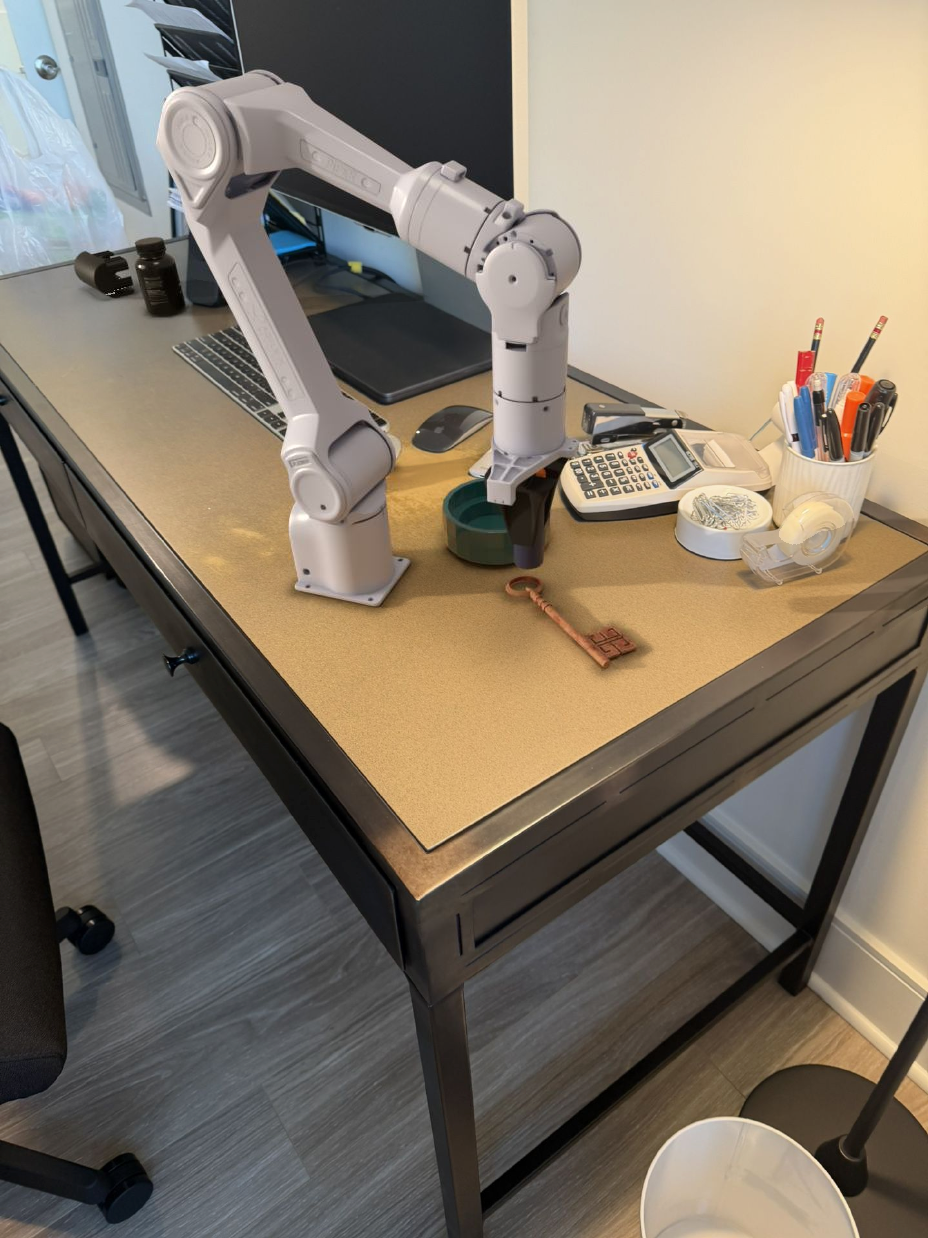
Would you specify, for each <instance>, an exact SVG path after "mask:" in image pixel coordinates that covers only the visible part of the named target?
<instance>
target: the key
mask: <svg viewBox="0 0 928 1238" xmlns="http://www.w3.org/2000/svg"><path fill="white" fill-rule="evenodd" d="M520 582H530V583H534V584H535V585H537V586H538V587H536V588H534V589H533V588H531V587H528V586H527V587H525V590H526V591H518V590H515V589H513V588H511V586H512V585H514V584H517V583H520ZM543 588H544V584H543V582H542V581H541V579H540V578H538V577H535V576H531V575H521V576H520V575H519V576H516V577H513V578H512V579H510V580H509V581H507V583H506V584H505V591H506V592H507V594H509V595H511V596H513V597H516V598H528V597H530V598H531V599H532V600H533V603H535V604H537V605H538V607H539V608H540V609H542V611H543V613H546V615H548V616H549V617H550V618H551V619H552V620H553V621H554V622H555V623H556V624H558V625H559V626H560V628H562V629H563V630H564V631H565V632H566V633H567V634H568V635H569V636H570V637H571V638H572V639H573V640H574V641H575V642H576V643H578V644H579V645H580V646H581V648H583V649H584V650H585V651H586V652H587V653H588V654H589V655H590V656H591V657H592V658H593V659H594V660H595V661H596V662H597V663H598V664H599V665H601V667H603V668H604V669H606V668H608V667H610V666H611V664H612V661H611V660H610V659H612V658H615V657H617V656H620V655H621V654H626V653H628V652H631V651H635V650H636V649H638V645H637V644H636V643H634V642H633V641H632V640H631V639H630V638H629V637H627V636H626V635H625V634H624V633H623V632H622V631H621V630H619V628H617V627H616V626H615V625H614V624H612V625H609V626H606V627H603V628H601V629H598V631H597V630H595V631H592V632H588V633H586V634H582V633H581V632H580V631H579V630H578V629H577V628H576V627H575V626H574V625H572V624H571V622H569V621H568V620H567V618H565V617H564V616H563V615H562V614H561V613H560V612H559V611H558V610H557V609H556V608H554V606H553V605H552V604H551V603H550V602H548V601H547V599H545V598H544V597H543V596H542V595H541V594H539V593H540V592H541V591H542V589H543Z"/></svg>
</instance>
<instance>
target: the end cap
mask: <svg viewBox="0 0 928 1238" xmlns="http://www.w3.org/2000/svg"><path fill="white" fill-rule="evenodd" d="M73 270H74V273H75V275H76V276H77V277H76V278H78V280H80V281H81V282H83V284H85V285H87V286H90V287H91V288H92V289H95V290H96V291H98V292H99V293H101V294H103V295H105V294H108V293H113V292H115V294H111V295H105V296H107V297H109V298H111V299H117V298H121V297H125V296H129V295H132V294H135V289H134V288H133V287H132V286H134V281H133V277H132V276H131V275H129V276H125V277H121V276H120V275H118V274H117V273H121V272H124V271H128V270H130V267H129V263H128V261H127V259H126V258H124V257H123V256H121V255H118V256H115V253H114V252H113V251H110V250H104V251H99V252H95V253H91V252H89V251H86V250H83V251H82V252H80V253H79V254H77V256H76V257H75V260H74V263H73ZM119 278H120V279H119ZM129 286H130V287H129ZM124 287H126V288H124ZM121 288H123V289H121ZM117 289H119V290H117ZM114 290H115V291H114Z"/></svg>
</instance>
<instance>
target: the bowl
mask: <svg viewBox="0 0 928 1238" xmlns="http://www.w3.org/2000/svg"><path fill="white" fill-rule="evenodd" d="M441 509H442V510H441V511H442V525H443V540H444V542H445V543H446V546H447V548H448V550H450V551H451V552H452V553H453V554H455V556H457V557H459V558H461V559H463V560H466V561H468V562H471V563H477V564H480V565H481V564H482V565H487V566H490V565H491V566H493V565H494V566H496V565H497V566H498V565H499V566H502V565H511V564H515V563H514V544H511V542H510V539H509V536H508V533H507V530H506V526H505V523H504V520H503V517H502V514H501V511H500V509H499V506H498V505H497V503H493V502H488V499H487V489H486V487H485V482H484V477H480V478H474V479H470V480H468V481H466V482H463V483H460V484H458V485H457V486H456V487H454V488H452V489H451V490H450V491H449V492H448V493H447V494H446V495H445V497H444V498H443V501H442V507H441ZM550 534H551V513H550V514H549V517H548V520H547V523H546V525H545V527H544V547H543V549H544V548H546V546H547V544H548V542H549V541H550V538H551V537H550Z"/></svg>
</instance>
